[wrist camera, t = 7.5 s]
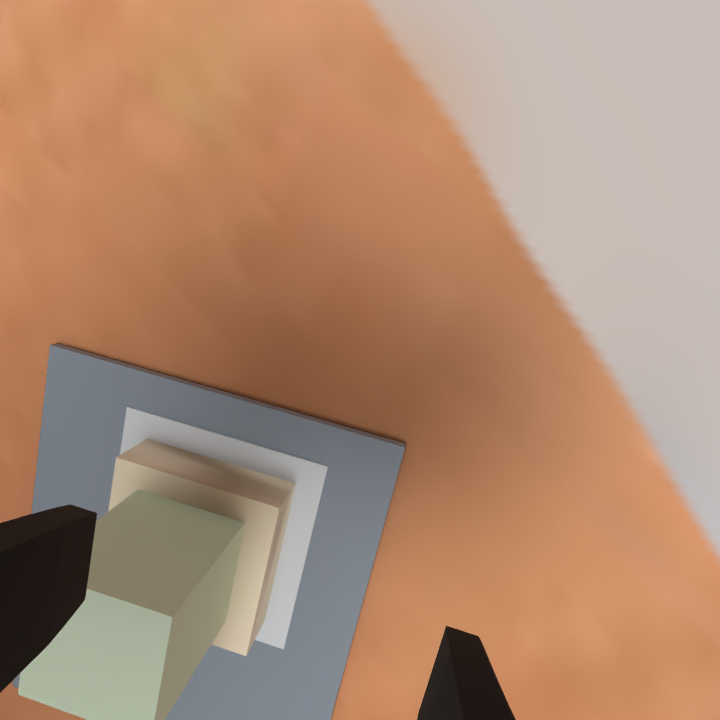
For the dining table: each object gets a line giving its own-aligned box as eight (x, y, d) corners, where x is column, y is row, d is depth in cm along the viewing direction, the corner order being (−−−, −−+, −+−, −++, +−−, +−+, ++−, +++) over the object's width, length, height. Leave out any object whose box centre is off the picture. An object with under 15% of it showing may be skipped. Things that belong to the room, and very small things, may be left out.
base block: (125, 573, 22) (94, 604, 21) (147, 438, 21) (116, 457, 19) (264, 620, 22) (246, 656, 20) (296, 483, 20) (279, 508, 18)
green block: (123, 587, 20) (17, 694, 15) (137, 489, 19) (30, 569, 14) (225, 621, 20) (150, 742, 15) (245, 522, 19) (172, 617, 14)
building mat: (19, 679, 25) (10, 687, 25) (57, 343, 22) (48, 345, 21) (312, 786, 24) (309, 797, 23) (406, 443, 20) (404, 448, 19)
